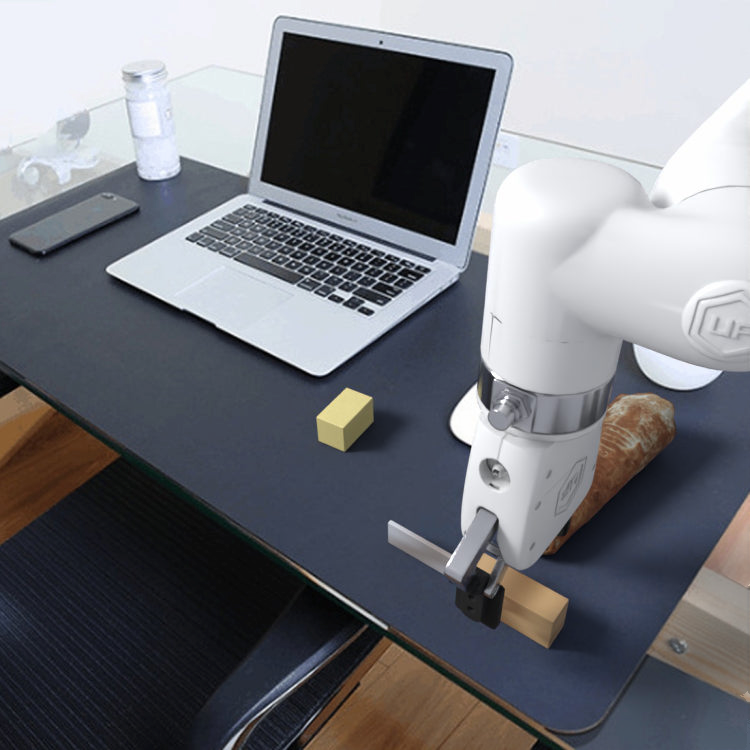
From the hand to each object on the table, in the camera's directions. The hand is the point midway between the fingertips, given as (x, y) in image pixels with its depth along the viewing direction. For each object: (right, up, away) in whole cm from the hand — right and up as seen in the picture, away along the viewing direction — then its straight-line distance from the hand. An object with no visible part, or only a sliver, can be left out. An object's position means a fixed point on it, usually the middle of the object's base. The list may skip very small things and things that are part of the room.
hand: (513, 568), depth 56 cm
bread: (+9, +3, +12) cm, 15 cm away
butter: (-13, +8, +19) cm, 24 cm away
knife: (-3, -3, +5) cm, 6 cm away
